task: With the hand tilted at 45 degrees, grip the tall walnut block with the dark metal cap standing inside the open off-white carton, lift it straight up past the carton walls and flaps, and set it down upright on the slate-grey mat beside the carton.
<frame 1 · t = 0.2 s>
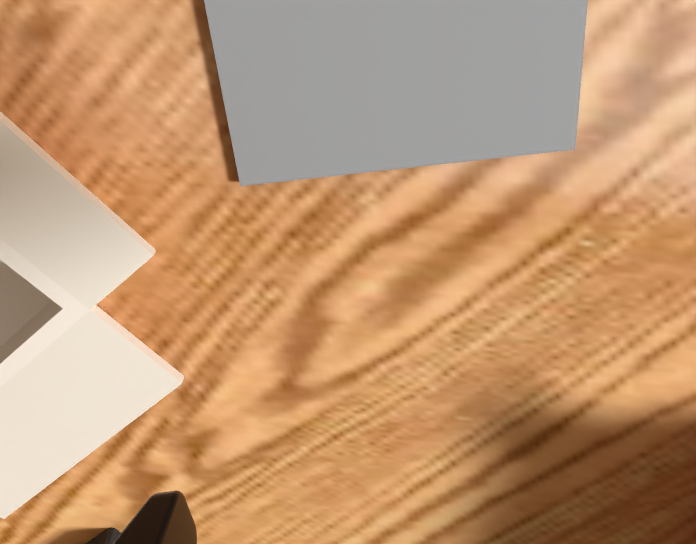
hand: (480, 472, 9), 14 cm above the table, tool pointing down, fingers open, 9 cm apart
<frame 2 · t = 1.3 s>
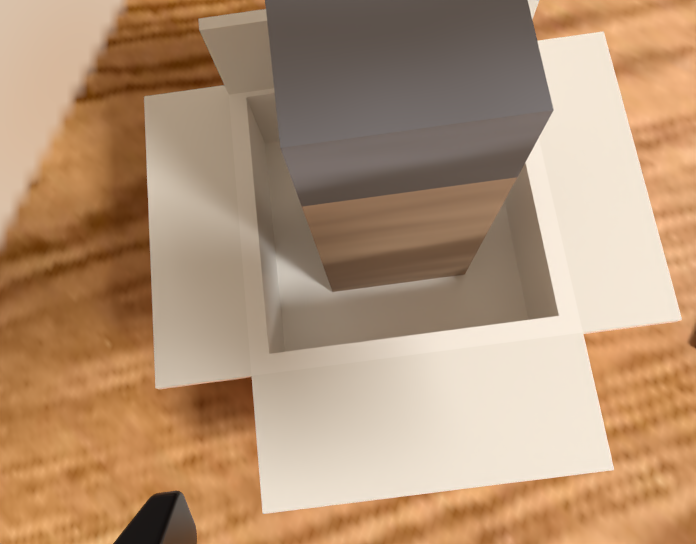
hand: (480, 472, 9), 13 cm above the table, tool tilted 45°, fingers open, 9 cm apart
carton: (390, 237, 23), on the table
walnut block: (391, 233, 23), resting on carton
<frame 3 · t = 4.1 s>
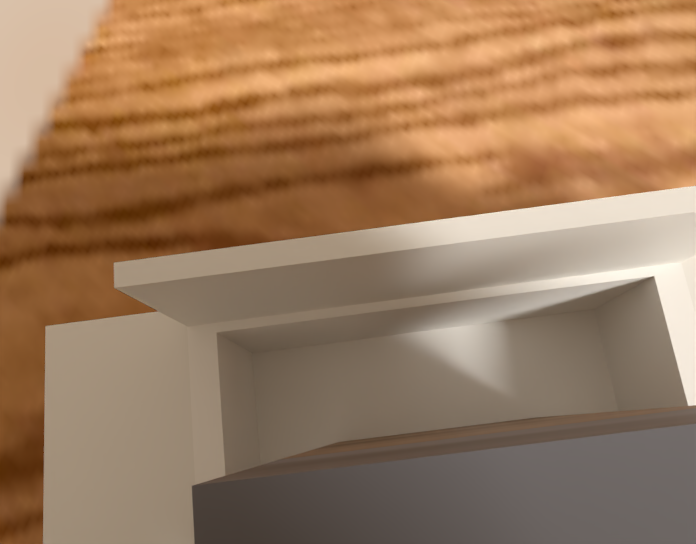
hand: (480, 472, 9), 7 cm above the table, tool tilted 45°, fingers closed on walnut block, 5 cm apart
carton: (448, 511, 15), on the table
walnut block: (450, 514, 14), resting on carton, touching gripper
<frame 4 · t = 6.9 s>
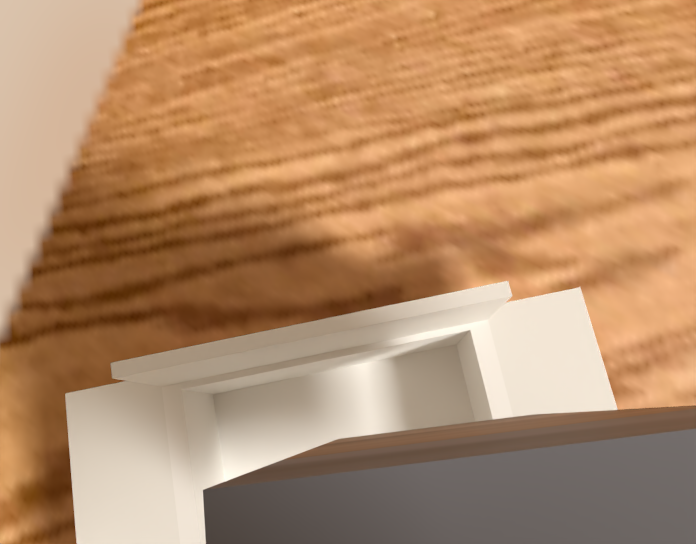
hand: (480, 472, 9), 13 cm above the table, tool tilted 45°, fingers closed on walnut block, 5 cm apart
carton: (359, 497, 21), on the table
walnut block: (447, 509, 15), point 6 cm above the table, touching gripper
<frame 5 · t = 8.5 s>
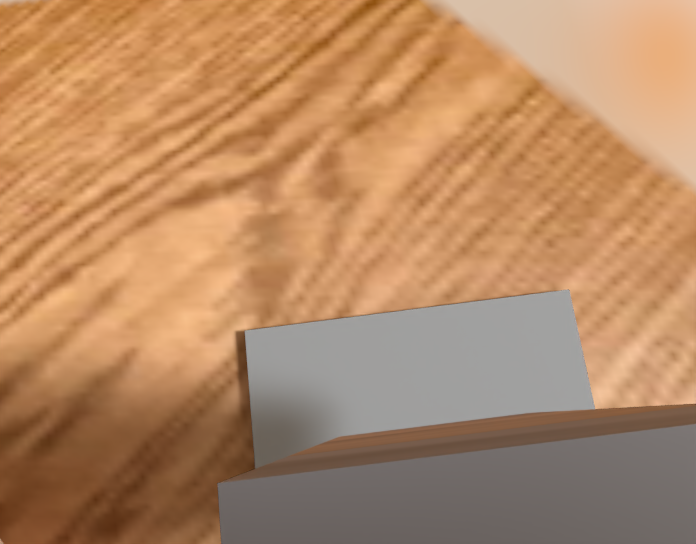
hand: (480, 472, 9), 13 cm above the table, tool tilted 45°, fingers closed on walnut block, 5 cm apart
slate mat: (429, 480, 21), on the table
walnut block: (447, 506, 15), point 6 cm above the table, touching gripper
when the fingers open (8 cm above the table, at t = 9.9 s): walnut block stays where it is, resting on slate mat.
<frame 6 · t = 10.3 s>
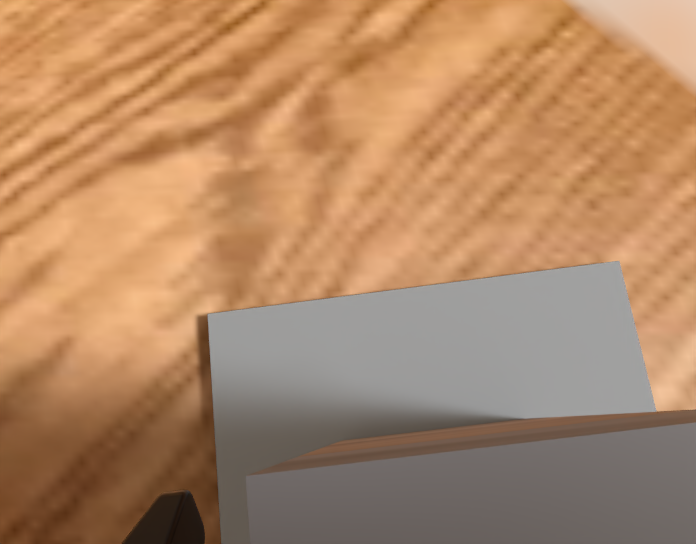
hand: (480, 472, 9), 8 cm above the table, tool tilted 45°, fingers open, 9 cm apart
slate mat: (443, 505, 16), on the table
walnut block: (444, 507, 16), resting on slate mat
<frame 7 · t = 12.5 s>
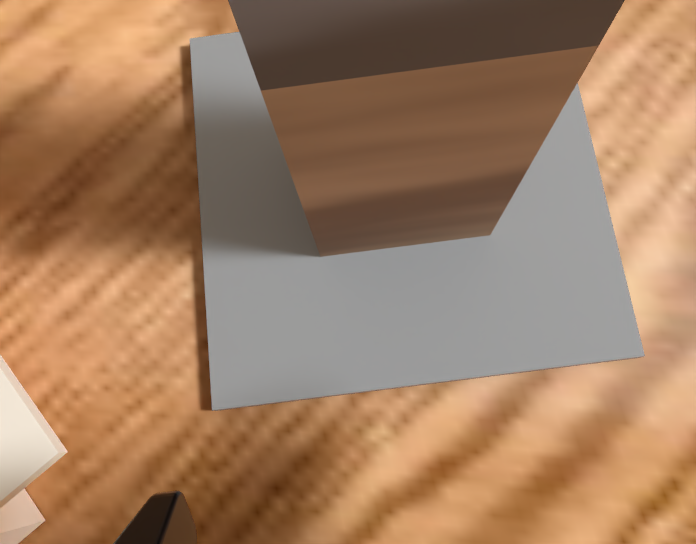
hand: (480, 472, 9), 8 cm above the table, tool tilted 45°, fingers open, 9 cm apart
slate mat: (396, 187, 18), on the table
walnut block: (395, 183, 18), resting on slate mat
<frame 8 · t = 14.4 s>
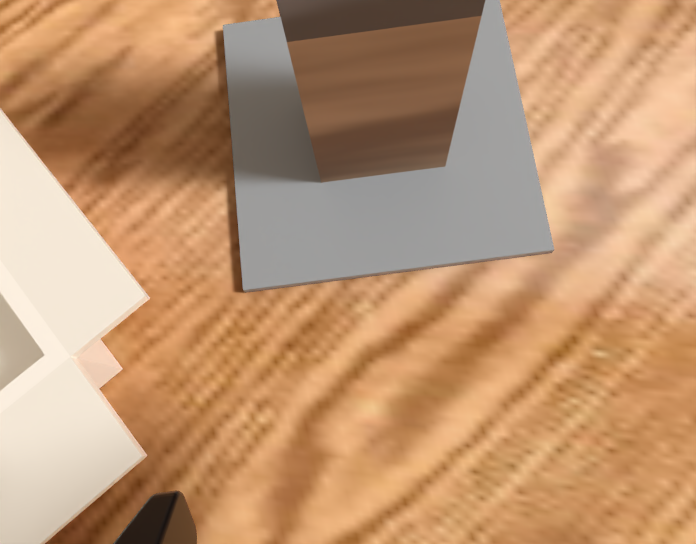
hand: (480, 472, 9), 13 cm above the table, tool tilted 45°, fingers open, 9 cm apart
slate mat: (377, 134, 25), on the table
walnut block: (376, 129, 24), resting on slate mat
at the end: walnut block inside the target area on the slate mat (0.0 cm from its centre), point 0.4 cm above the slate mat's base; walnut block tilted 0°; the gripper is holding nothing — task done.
